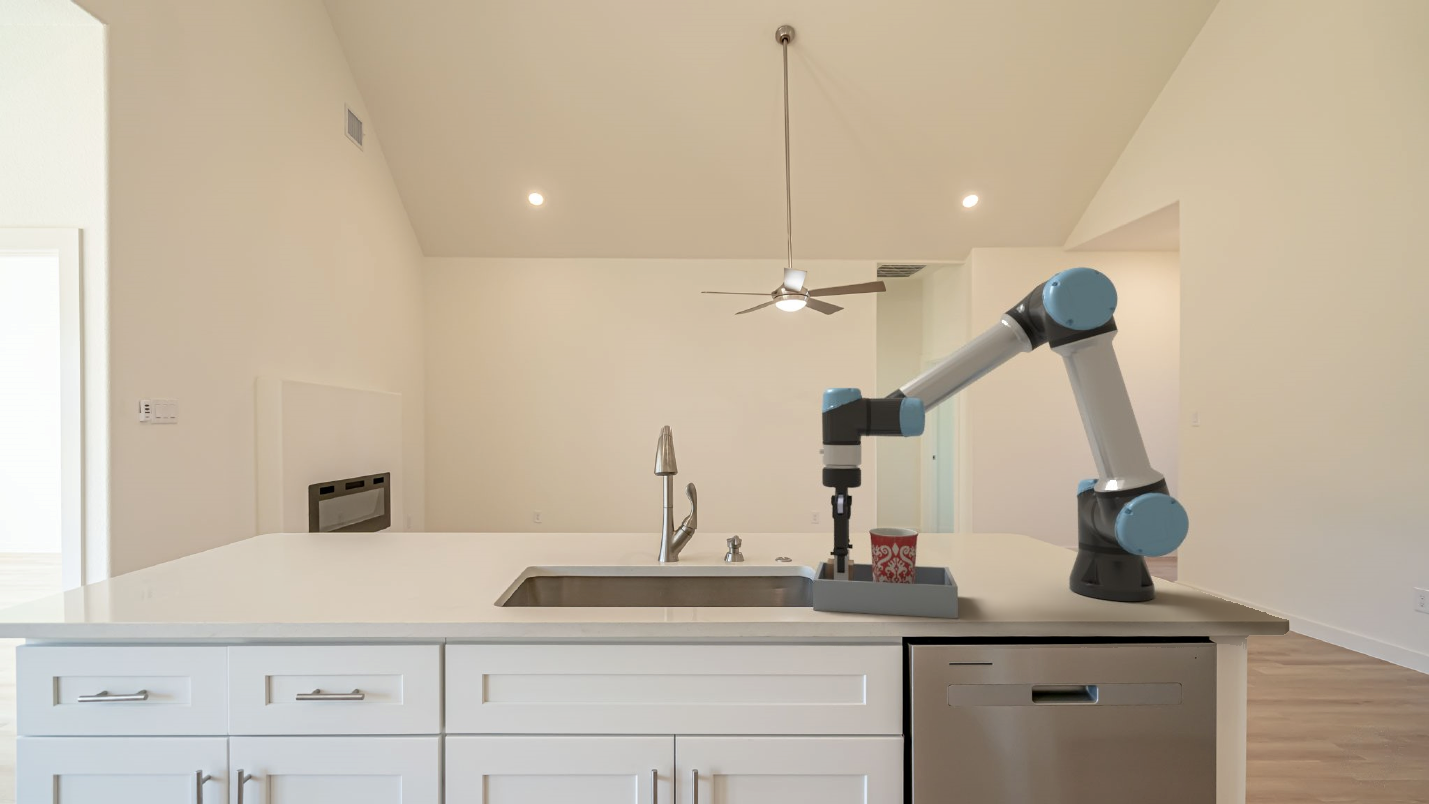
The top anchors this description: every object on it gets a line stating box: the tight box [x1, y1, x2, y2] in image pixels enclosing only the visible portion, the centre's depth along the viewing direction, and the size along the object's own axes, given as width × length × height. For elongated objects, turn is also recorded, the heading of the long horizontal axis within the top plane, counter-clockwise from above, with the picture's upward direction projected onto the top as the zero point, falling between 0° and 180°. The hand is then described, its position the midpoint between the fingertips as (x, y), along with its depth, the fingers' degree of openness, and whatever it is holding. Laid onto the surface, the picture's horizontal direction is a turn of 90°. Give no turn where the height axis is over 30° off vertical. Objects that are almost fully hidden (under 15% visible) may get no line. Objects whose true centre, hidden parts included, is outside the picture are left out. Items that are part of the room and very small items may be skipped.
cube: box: [826, 558, 855, 581], centre depth 139 cm, size 5×5×5 cm
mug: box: [869, 527, 919, 584], centre depth 137 cm, size 13×9×14 cm
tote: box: [812, 561, 959, 619], centre depth 137 cm, size 26×17×6 cm, turn 77°
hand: (841, 585), depth 139 cm, fingers closed on cube, 5 cm apart
